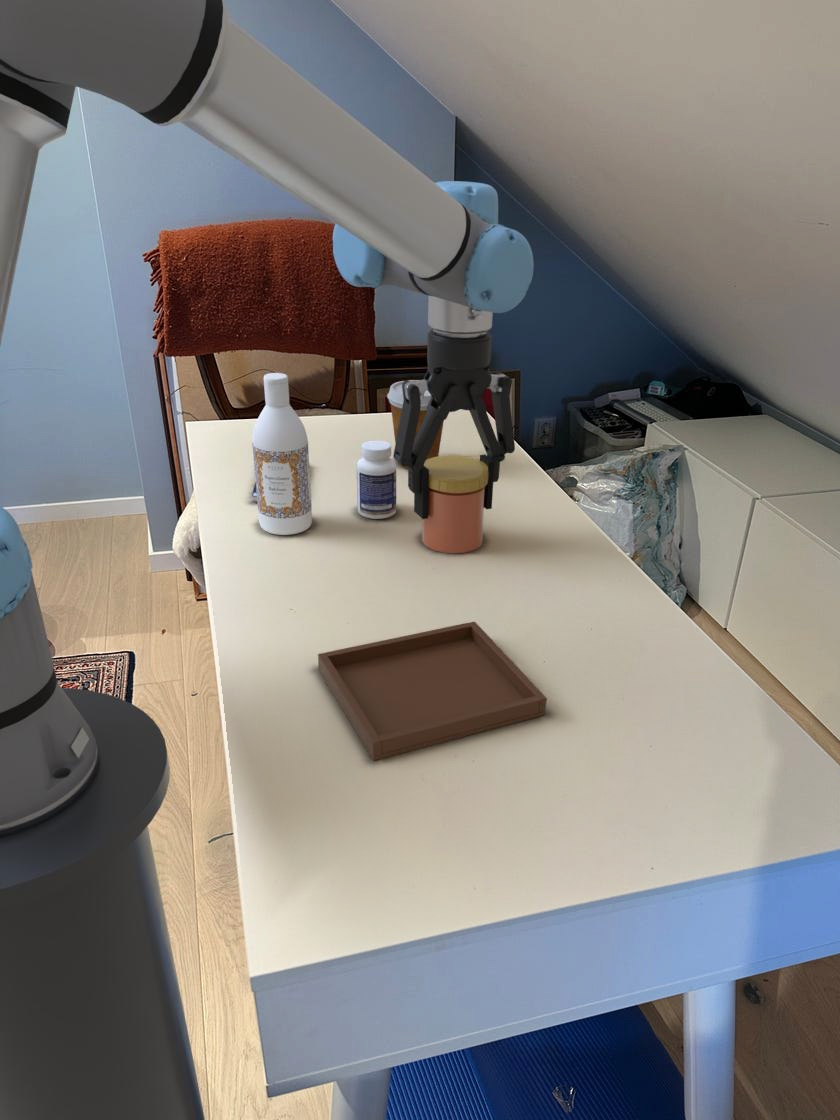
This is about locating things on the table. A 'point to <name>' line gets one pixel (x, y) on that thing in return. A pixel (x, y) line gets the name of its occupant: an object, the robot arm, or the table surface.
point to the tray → (428, 688)
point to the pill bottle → (376, 481)
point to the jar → (454, 521)
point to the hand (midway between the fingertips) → (453, 509)
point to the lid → (456, 473)
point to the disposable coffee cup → (396, 408)
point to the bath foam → (281, 462)
